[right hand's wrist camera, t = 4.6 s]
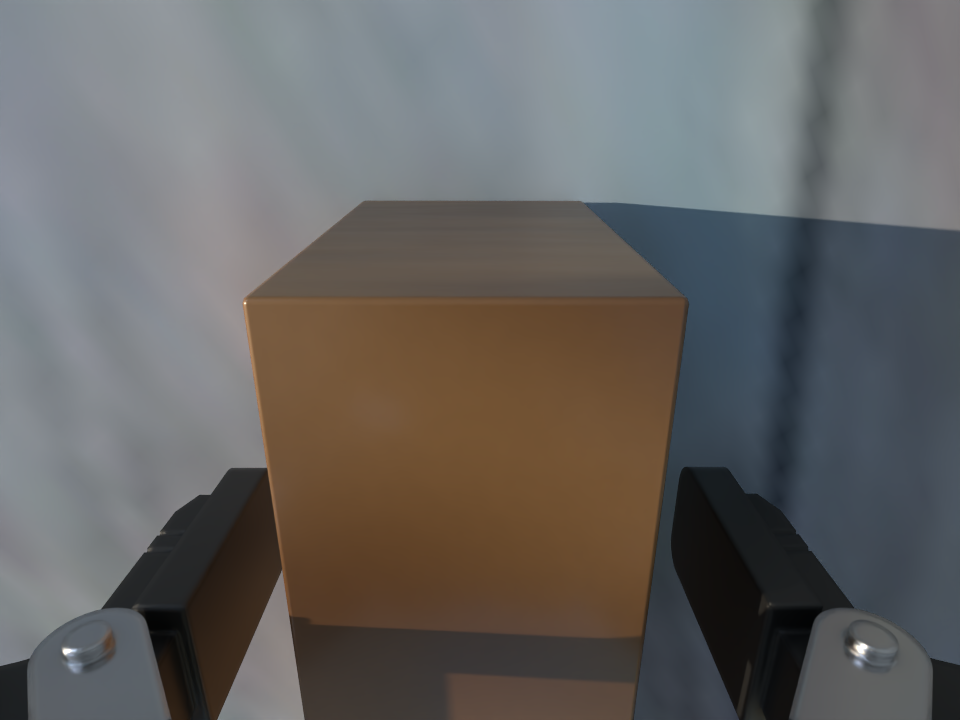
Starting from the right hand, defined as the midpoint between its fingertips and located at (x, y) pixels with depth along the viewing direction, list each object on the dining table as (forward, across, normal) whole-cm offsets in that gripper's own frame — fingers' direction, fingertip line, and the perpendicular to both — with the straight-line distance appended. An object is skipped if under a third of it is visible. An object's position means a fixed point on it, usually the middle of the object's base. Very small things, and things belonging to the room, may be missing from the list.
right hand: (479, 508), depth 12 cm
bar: (+3, 0, -33) cm, 33 cm away
